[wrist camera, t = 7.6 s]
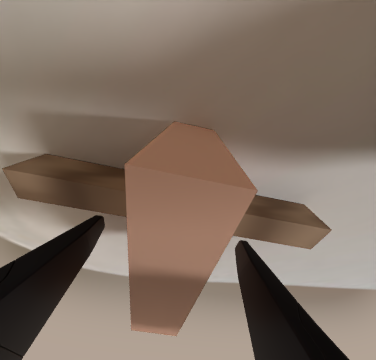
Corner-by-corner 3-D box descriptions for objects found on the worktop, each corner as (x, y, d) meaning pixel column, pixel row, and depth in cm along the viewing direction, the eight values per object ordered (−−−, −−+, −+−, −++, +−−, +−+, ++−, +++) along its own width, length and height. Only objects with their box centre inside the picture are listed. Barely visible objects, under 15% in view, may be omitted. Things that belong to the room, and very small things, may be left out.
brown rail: (304, 204, 13) (331, 230, 10) (289, 222, 14) (310, 249, 12) (45, 153, 12) (2, 168, 9) (54, 178, 13) (18, 197, 10)
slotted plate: (214, 130, 10) (257, 190, 3) (184, 234, 16) (176, 335, 9) (174, 121, 10) (124, 164, 3) (159, 230, 16) (131, 330, 9)
